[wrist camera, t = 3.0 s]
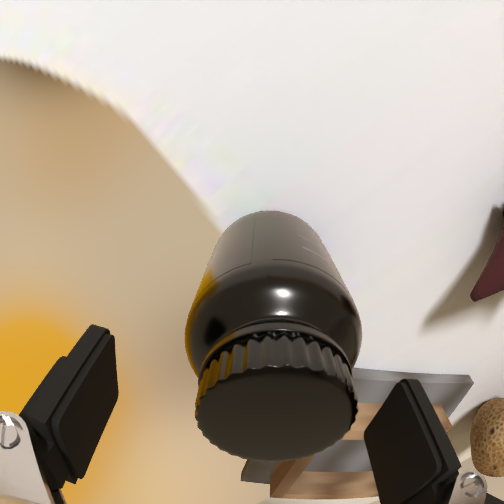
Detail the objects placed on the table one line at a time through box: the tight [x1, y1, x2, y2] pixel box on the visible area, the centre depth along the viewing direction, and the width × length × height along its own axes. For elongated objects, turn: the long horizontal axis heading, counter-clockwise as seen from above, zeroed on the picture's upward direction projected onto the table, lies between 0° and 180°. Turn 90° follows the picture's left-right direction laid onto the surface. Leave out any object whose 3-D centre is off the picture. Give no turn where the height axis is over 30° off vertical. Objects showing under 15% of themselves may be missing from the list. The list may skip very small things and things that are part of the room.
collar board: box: [241, 368, 474, 499], centre depth 23 cm, size 18×18×4 cm
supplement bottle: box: [185, 211, 362, 462], centre depth 14 cm, size 7×7×12 cm
